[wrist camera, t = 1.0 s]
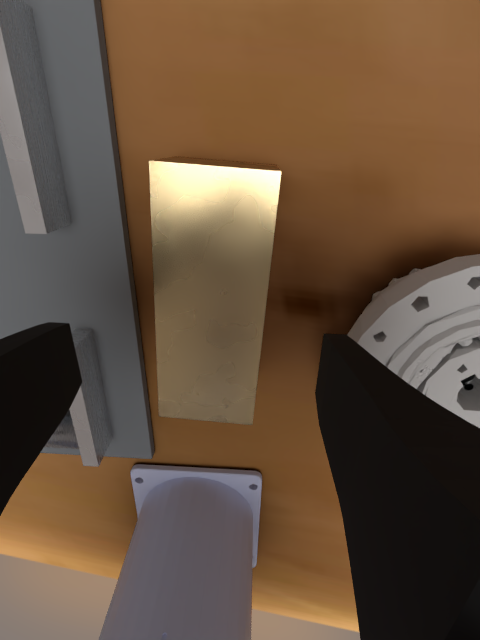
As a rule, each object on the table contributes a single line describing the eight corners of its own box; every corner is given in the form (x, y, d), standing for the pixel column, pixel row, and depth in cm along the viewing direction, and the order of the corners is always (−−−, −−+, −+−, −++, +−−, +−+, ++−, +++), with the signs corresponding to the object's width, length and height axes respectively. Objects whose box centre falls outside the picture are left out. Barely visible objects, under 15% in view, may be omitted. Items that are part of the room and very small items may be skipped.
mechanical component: (668, 420, 13) (414, 518, 16) (573, 356, 17) (384, 444, 20) (585, 195, 10) (288, 370, 13) (493, 180, 14) (282, 317, 17)
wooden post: (254, 371, 19) (252, 424, 15) (178, 364, 19) (158, 416, 15) (276, 164, 14) (281, 171, 11) (177, 156, 14) (148, 160, 11)
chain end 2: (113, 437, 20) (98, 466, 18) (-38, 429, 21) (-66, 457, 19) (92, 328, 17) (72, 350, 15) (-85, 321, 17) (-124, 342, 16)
